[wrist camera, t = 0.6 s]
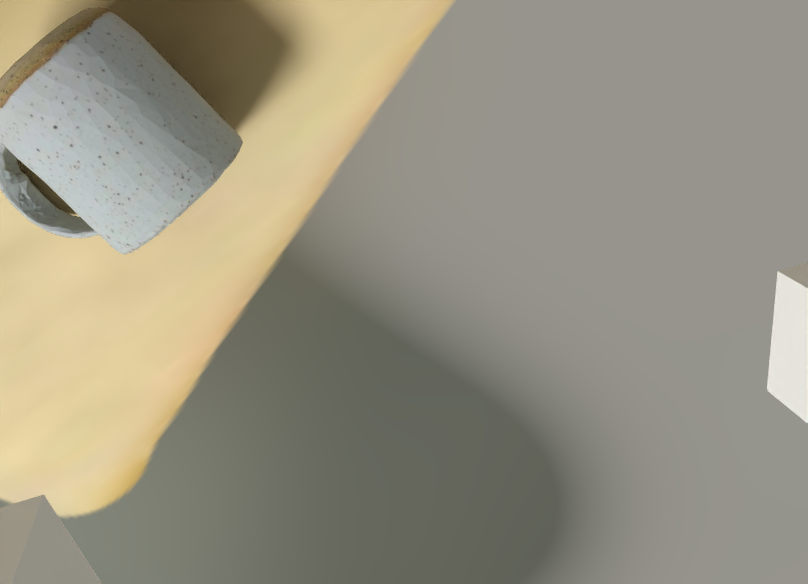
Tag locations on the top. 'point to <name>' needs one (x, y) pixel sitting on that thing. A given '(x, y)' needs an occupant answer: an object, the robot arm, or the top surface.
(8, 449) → the top surface
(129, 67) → the ceramic mug
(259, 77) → the top surface
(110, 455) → the top surface
